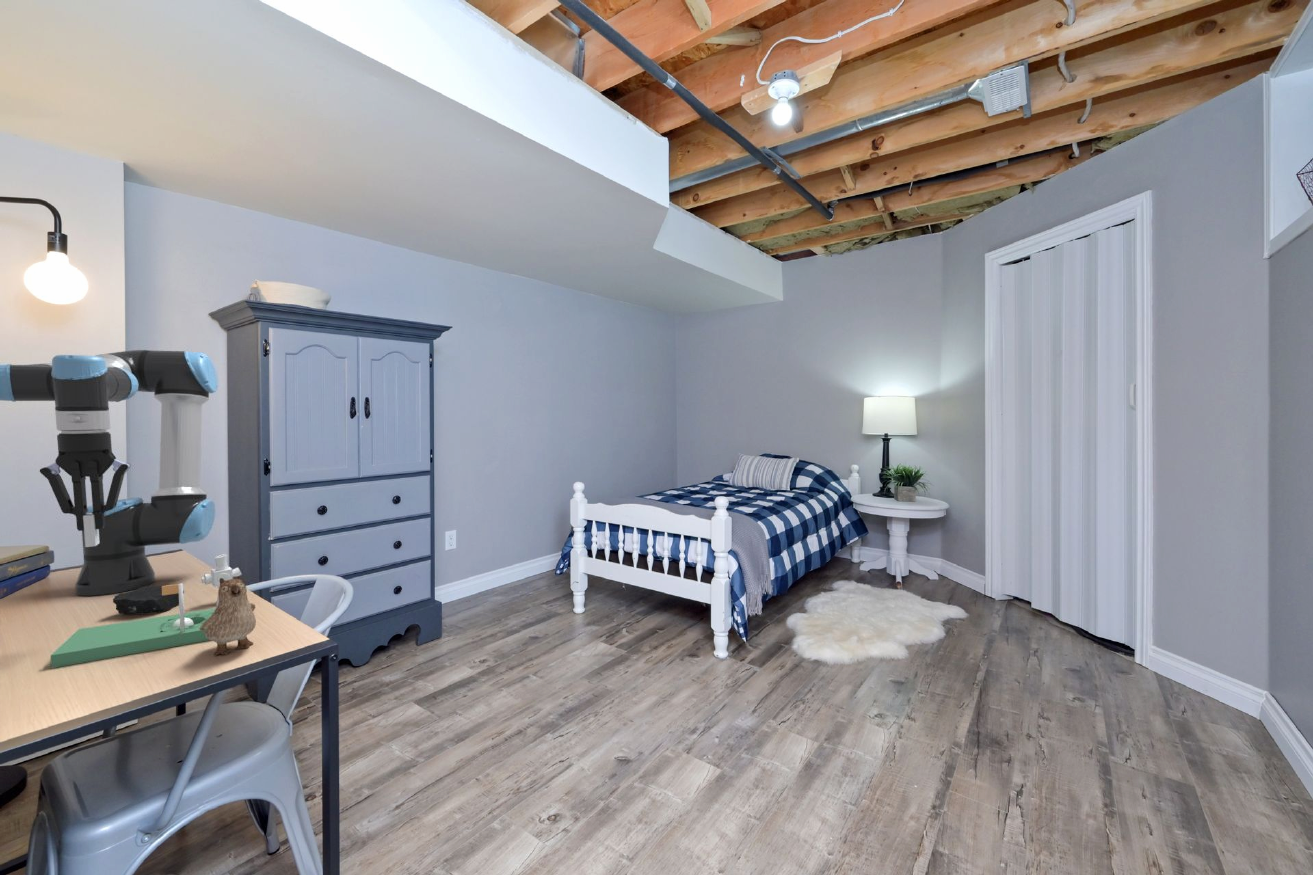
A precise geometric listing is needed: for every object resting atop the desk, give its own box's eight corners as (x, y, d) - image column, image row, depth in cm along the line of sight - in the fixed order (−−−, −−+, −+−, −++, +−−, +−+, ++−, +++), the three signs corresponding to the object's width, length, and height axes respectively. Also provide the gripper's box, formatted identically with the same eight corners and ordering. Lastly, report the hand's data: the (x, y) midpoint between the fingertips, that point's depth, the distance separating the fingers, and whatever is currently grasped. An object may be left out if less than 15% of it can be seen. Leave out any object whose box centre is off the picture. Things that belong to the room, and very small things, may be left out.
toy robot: (244, 600, 135) (242, 553, 134) (204, 608, 129) (202, 559, 129) (240, 596, 138) (239, 550, 137) (201, 604, 132) (199, 556, 131)
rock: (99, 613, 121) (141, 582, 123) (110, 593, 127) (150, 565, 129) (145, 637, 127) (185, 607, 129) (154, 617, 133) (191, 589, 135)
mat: (79, 640, 112) (76, 581, 111) (226, 616, 124) (224, 563, 124) (51, 668, 100) (47, 602, 99) (217, 638, 113) (214, 580, 112)
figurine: (212, 665, 101) (208, 586, 100) (191, 653, 106) (188, 578, 105) (267, 647, 109) (264, 574, 108) (245, 636, 114) (243, 566, 113)
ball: (169, 623, 115) (186, 611, 116) (182, 634, 116) (199, 622, 118) (165, 629, 112) (182, 617, 113) (179, 640, 113) (196, 628, 115)
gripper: (29, 433, 103) (39, 554, 105) (123, 432, 110) (130, 544, 112) (44, 431, 109) (53, 545, 111) (132, 429, 117) (139, 536, 119)
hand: (92, 544), depth 112 cm, fingers closed
